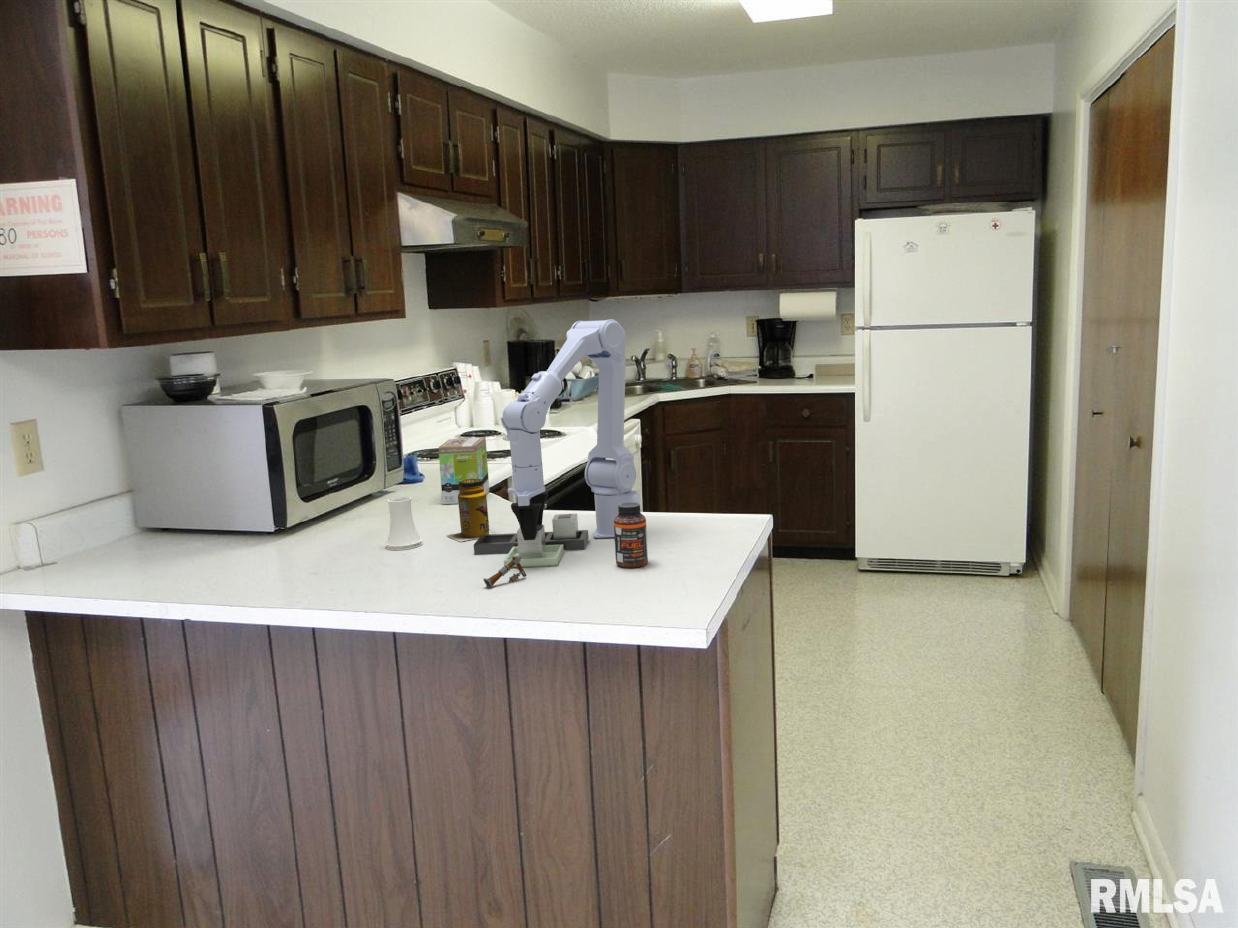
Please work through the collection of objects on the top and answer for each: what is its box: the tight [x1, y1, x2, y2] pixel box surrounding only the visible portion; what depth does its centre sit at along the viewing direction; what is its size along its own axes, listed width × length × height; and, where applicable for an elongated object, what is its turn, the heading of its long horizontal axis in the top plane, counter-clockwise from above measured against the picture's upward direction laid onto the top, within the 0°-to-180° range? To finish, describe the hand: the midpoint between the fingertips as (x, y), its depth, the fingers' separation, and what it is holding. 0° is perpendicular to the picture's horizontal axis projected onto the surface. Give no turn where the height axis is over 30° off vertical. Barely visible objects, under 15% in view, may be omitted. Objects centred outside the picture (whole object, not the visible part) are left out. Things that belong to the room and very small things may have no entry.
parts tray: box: [503, 545, 565, 569], centre depth 189 cm, size 10×10×2 cm
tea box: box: [438, 436, 490, 505], centre depth 252 cm, size 15×10×15 cm
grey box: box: [516, 524, 546, 559], centre depth 189 cm, size 4×4×6 cm
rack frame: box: [473, 529, 589, 555], centre depth 199 cm, size 22×8×2 cm, turn 86°
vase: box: [384, 496, 423, 551], centre depth 206 cm, size 8×8×10 cm
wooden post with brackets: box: [482, 555, 527, 589], centre depth 175 cm, size 2×8×4 cm, turn 128°
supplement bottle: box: [614, 502, 649, 569], centre depth 181 cm, size 6×6×11 cm
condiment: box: [446, 479, 496, 543], centre depth 211 cm, size 7×8×12 cm
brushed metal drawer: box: [551, 513, 579, 540], centre depth 198 cm, size 4×4×6 cm
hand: (532, 535), depth 188 cm, fingers open, 6 cm apart
